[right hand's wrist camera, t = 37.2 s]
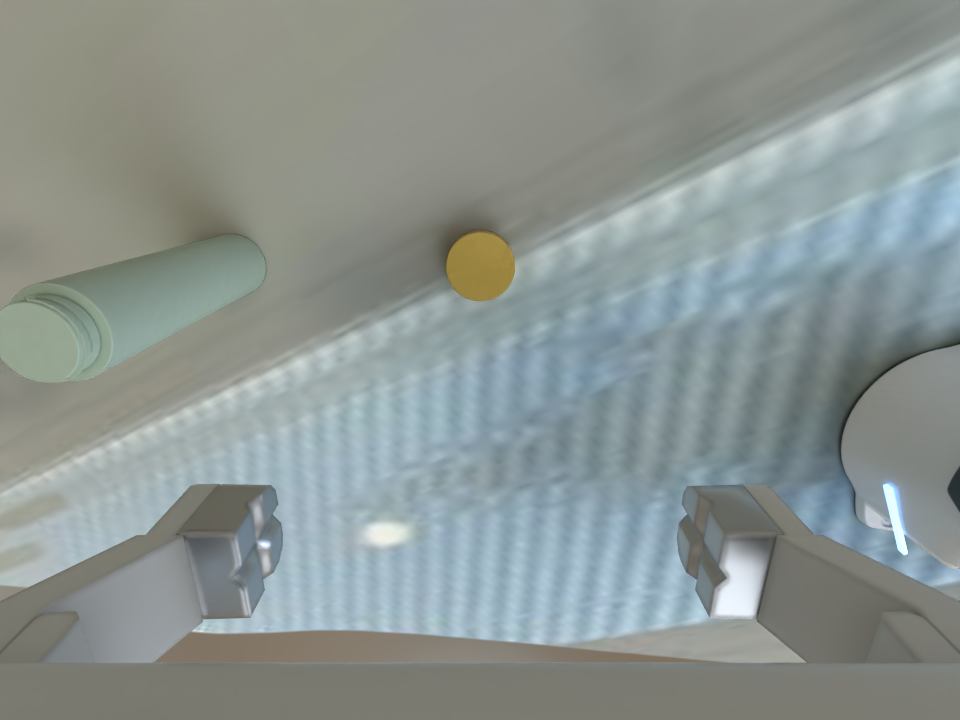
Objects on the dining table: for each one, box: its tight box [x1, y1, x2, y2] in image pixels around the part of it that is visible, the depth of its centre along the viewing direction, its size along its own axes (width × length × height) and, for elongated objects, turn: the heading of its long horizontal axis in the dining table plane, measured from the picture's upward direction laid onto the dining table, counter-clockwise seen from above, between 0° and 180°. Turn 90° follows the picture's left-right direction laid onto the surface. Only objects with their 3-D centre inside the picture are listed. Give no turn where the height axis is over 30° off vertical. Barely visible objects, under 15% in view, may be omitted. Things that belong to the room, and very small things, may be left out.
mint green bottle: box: [0, 234, 266, 383], centre depth 30 cm, size 4×4×18 cm
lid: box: [446, 230, 515, 301], centre depth 38 cm, size 5×5×2 cm
